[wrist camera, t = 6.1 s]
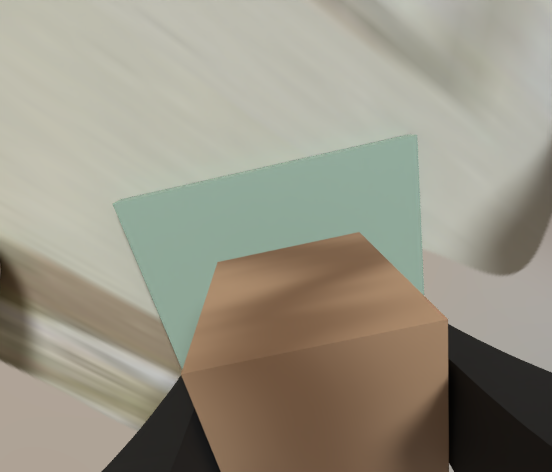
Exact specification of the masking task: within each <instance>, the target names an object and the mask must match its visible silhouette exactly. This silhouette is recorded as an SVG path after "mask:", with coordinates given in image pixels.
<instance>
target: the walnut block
mask: <svg viewBox="0 0 552 472" xmlns="http://www.w3.org/2000/svg"><path fill="white" fill-rule="evenodd" d="M181 376H182V378H183V381H184V383H185V385H186V388H187V390H188V393H189V395H190V398H191V400H192V403H193V405H194V407H195V410H196V412H197V415H198V417H199V420H200V422H201V425H202V427H203V429H204V432H205V434H206V437H207V439H208V442H209V444H210V447H211V449H212V451H213V454H214V456H215V459H216V461H217V464H218V466H219V469H220V471H221V472H449V411H448V319H447V318H446V317H445V316H444V315H443V314H442V313H441V312H440V311H439V310H438V309H437V308H436V307H435V306H434V305H433V304H432V303H431V302H430V301H429V300H428V299H427V298H426V297H425V296H424V295H423V294H422V293H421V292H420V291H419V290H418V289H417V288H416V287H415V286H414V285H413V284H412V283H411V282H410V281H409V280H408V279H407V278H406V277H405V276H404V275H403V274H401V273H400V272H399V271H398V270H397V269H396V268H395V267H394V266H393V265H392V264H391V263H390V262H389V261H388V260H387V259H386V258H385V257H384V256H383V255H382V254H381V253H380V252H379V251H378V250H377V249H376V248H375V247H374V246H373V245H372V244H371V243H370V242H369V241H368V240H367V239H366V238H365V237H364V236H363V235H362V234H361V233H360V232H357V233H352V234H348V235H343V236H338V237H333V238H329V239H324V240H319V241H315V242H310V243H305V244H300V245H296V246H291V247H286V248H281V249H277V250H272V251H267V252H263V253H258V254H253V255H248V256H244V257H239V258H234V259H230V260H225V261H220V262H217V265H216V268H215V272H214V275H213V278H212V281H211V284H210V287H209V290H208V293H207V296H206V299H205V302H204V305H203V308H202V311H201V314H200V317H199V320H198V323H197V326H196V330H195V333H194V336H193V339H192V342H191V345H190V348H189V351H188V354H187V357H186V360H185V363H184V366H183V369H182V372H181Z"/></svg>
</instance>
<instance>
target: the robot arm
mask: <svg viewBox="0 0 552 472" xmlns="http://www.w3.org/2000/svg"><path fill="white" fill-rule="evenodd" d="M448 411H449V463H450V465H451V467H452V469H453V470H454V472H552V373H551V372H549V371H546V370H544V369H542V368H539V367H537V366H534V365H532V364H530V363H527V362H525V361H522V360H520V359H518V358H516V357H513V356H511V355H509V354H507V353H505V352H502V351H500V350H498V349H496V348H494V347H492V346H490V345H488V344H486V343H484V342H481V341H480V340H477V339H476V338H474V337H472V336H470V335H468V334H466V333H464V332H462V331H460V330H458V329H456V328H454V327H453V326H451V325H449V324H448ZM102 472H221V471H220V469H219V466H218V464H217V461H216V459H215V456H214V454H213V451H212V449H211V447H210V444H209V442H208V439H207V437H206V434H205V432H204V429H203V427H202V425H201V422H200V420H199V417H198V415H197V412H196V410H195V407H194V405H193V403H192V400H191V398H190V395H189V393H188V390H187V388H186V385H185V383H184V381H183V378H182V376H180V378H179V379H178V381H177V382H176V383H175V385H174V386H173V388H172V389H171V390H170V392H169V393H168V394H167V396H166V397H165V398H164V399H163V401H162V402H161V403H160V405H159V406H158V407H157V409H156V410H155V411H154V412H153V414H152V415H151V416H150V418H149V419H148V420H147V421H146V423H145V424H144V425H143V426H142V427H141V429H140V430H139V431H138V432H137V434H135V436H134V437H133V438H132V439H131V440H130V441H129V442H128V444H127V445H126V446H125V447H124V448H123V449H122V450H121V451H120V453H119V454H118V455H117V456H116V457H115V458H114V459H113V460H112V461H111V462H110V463H109V464H108V466H107V467H106V468H105V469H104V470H103V471H102Z"/></svg>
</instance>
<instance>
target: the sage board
mask: <svg viewBox="0 0 552 472" xmlns="http://www.w3.org/2000/svg"><path fill="white" fill-rule="evenodd" d="M113 206H114V208H115V211H116V213H117V215H118V218H119V220H120V223H121V225H122V227H123V230H124V232H125V234H126V237H127V239H128V242H129V244H130V246H131V249H132V251H133V254H134V256H135V258H136V261H137V263H138V265H139V268H140V270H141V273H142V275H143V277H144V280H145V282H146V284H147V287H148V289H149V292H150V294H151V296H152V299H153V301H154V304H155V306H156V308H157V311H158V313H159V315H160V318H161V320H162V323H163V325H164V327H165V330H166V332H167V334H168V337H169V339H170V342H171V344H172V346H173V349H174V351H175V354H176V356H177V358H178V361H179V363H180V365H181V368H182V369H183V366H184V363H185V360H186V357H187V354H188V351H189V348H190V345H191V342H192V339H193V336H194V333H195V330H196V326H197V323H198V320H199V317H200V314H201V311H202V308H203V305H204V302H205V299H206V296H207V293H208V290H209V287H210V284H211V281H212V278H213V275H214V272H215V268H216V265H217V262H220V261H225V260H230V259H234V258H239V257H244V256H248V255H253V254H258V253H263V252H267V251H272V250H277V249H281V248H286V247H291V246H296V245H300V244H305V243H310V242H315V241H319V240H324V239H329V238H333V237H338V236H343V235H348V234H352V233H357V232H360V233H361V234H362V235H363V236H364V237H365V238H366V239H367V240H368V241H369V242H370V243H371V244H372V245H373V246H374V247H375V248H376V249H377V250H378V251H379V252H380V253H381V254H382V255H383V256H384V257H385V258H386V259H387V260H388V261H389V262H390V263H391V264H392V265H393V266H394V267H395V268H396V269H397V270H398V271H399V272H400V273H401V274H403V275H404V276H405V277H406V278H407V279H408V280H409V281H410V282H411V283H412V284H413V285H414V286H415V287H416V288H417V289H418V290H419V291H420V292H421V293H422V294H423V295H424V281H423V259H422V235H421V212H420V189H419V166H418V143H417V135H405V136H400V137H396V138H391V139H387V140H382V141H378V142H374V143H369V144H365V145H360V146H356V147H351V148H347V149H343V150H338V151H334V152H329V153H325V154H321V155H316V156H312V157H307V158H303V159H298V160H294V161H290V162H285V163H281V164H276V165H272V166H267V167H263V168H259V169H254V170H250V171H245V172H241V173H236V174H232V175H228V176H223V177H219V178H214V179H210V180H205V181H201V182H197V183H192V184H188V185H183V186H179V187H174V188H170V189H166V190H161V191H157V192H152V193H148V194H143V195H139V196H135V197H130V198H126V199H121V200H119V201H117V202H115V203H113Z"/></svg>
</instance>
